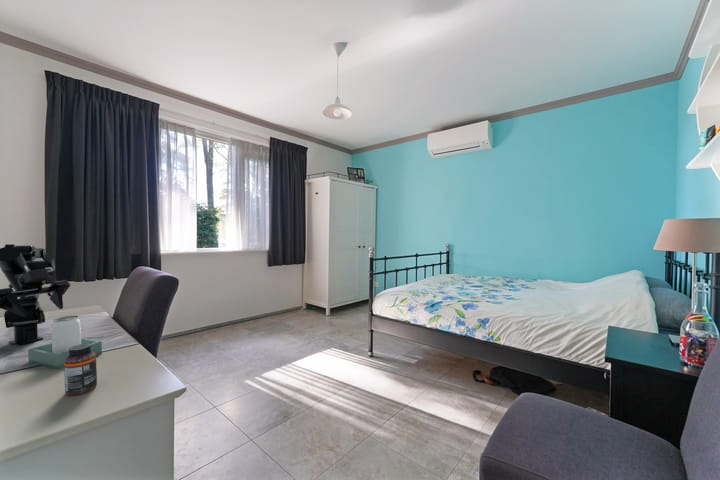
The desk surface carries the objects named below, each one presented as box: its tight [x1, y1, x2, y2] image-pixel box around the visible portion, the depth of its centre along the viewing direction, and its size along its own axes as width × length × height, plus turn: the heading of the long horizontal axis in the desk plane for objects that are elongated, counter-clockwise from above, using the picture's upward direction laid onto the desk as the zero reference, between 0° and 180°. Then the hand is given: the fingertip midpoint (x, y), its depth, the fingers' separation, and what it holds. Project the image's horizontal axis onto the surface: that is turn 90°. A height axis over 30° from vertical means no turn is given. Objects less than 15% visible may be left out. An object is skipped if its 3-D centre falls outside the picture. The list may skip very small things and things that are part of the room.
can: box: [51, 315, 82, 354], centre depth 94 cm, size 6×6×12 cm
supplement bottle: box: [63, 344, 98, 396], centre depth 76 cm, size 6×6×11 cm
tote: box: [27, 337, 103, 370], centre depth 95 cm, size 14×12×4 cm
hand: (44, 312), depth 97 cm, fingers open, 9 cm apart
